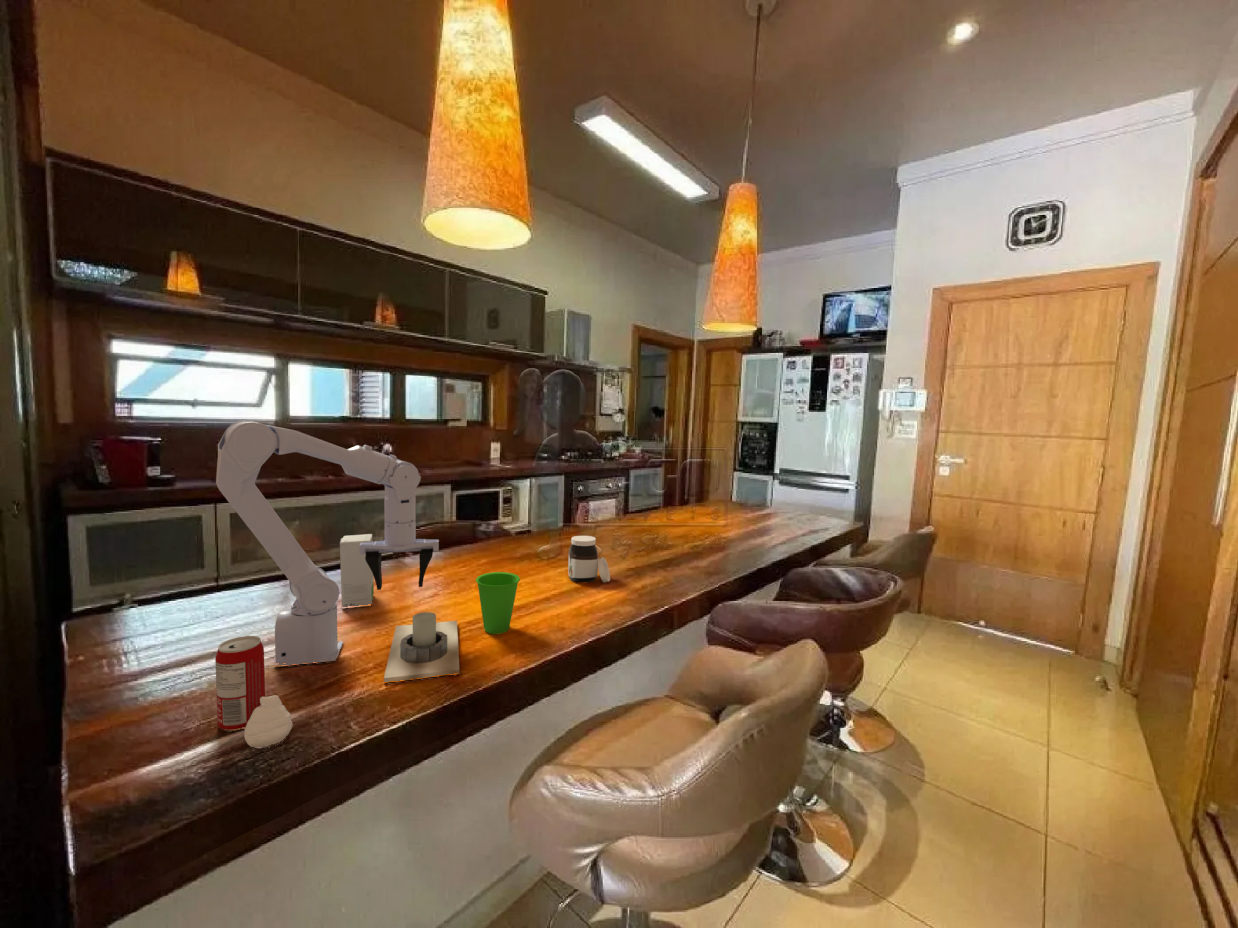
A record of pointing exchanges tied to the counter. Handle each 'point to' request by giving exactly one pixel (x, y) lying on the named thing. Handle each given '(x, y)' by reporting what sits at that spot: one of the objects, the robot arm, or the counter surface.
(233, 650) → the soda can
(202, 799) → the counter surface
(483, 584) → the cup
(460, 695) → the counter surface
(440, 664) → the peg holder
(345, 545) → the skincare box
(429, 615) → the gray peg
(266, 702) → the garlic bulb
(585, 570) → the spread jar
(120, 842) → the counter surface
